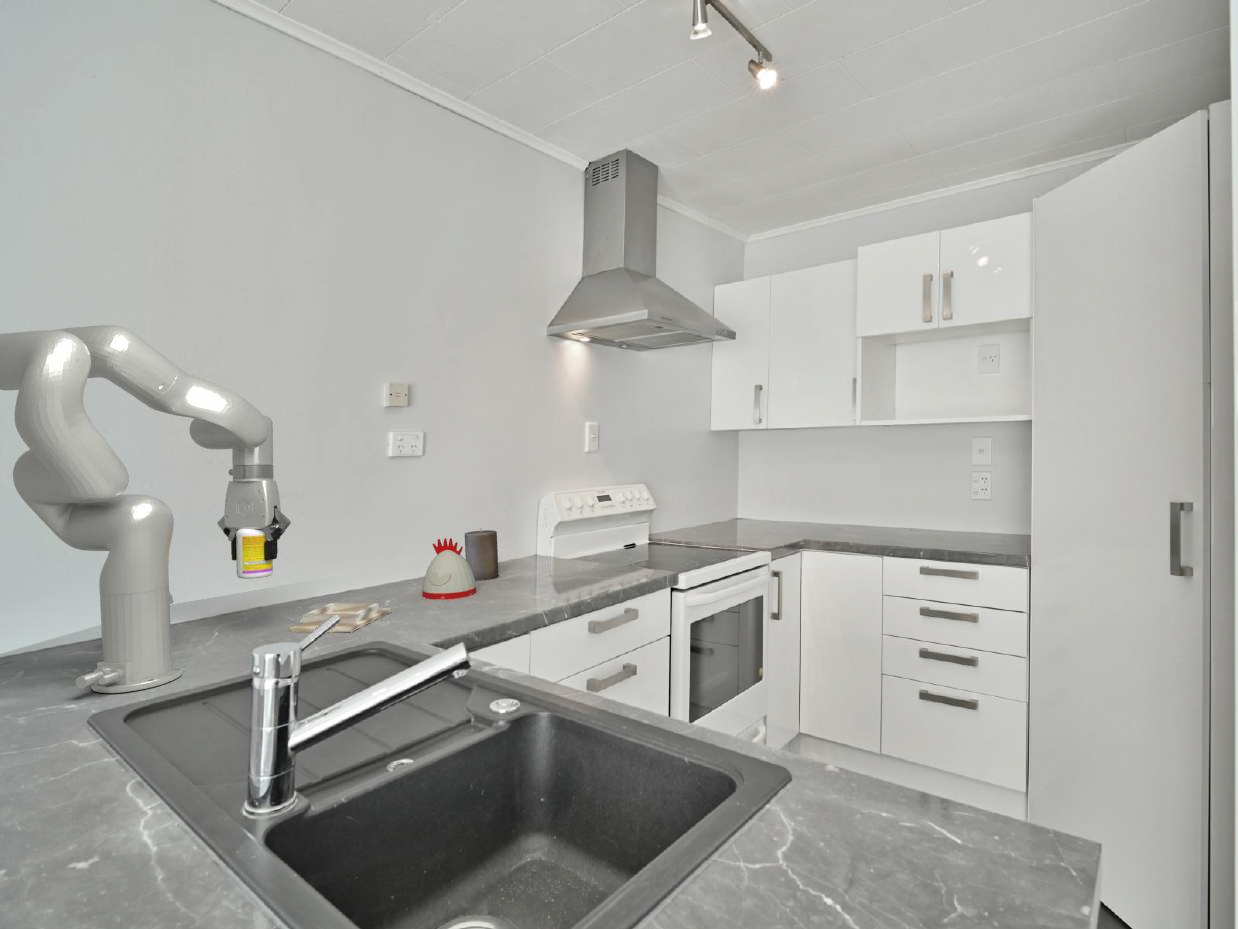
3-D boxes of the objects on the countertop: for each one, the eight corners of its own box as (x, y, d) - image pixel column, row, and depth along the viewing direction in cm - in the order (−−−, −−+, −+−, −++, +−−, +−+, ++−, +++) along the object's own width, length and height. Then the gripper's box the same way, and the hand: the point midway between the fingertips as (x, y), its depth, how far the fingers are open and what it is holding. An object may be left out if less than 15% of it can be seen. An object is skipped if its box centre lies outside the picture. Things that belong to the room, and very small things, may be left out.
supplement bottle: (279, 575, 141) (278, 514, 141) (247, 580, 136) (246, 516, 136) (261, 573, 145) (260, 514, 145) (230, 578, 139) (229, 516, 139)
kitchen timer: (435, 588, 187) (434, 535, 187) (483, 588, 185) (481, 534, 185) (413, 599, 174) (412, 541, 173) (464, 600, 172) (463, 541, 171)
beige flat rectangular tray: (351, 633, 142) (350, 618, 142) (290, 632, 144) (289, 618, 144) (391, 612, 160) (391, 599, 159) (336, 611, 161) (336, 599, 161)
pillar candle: (503, 574, 206) (501, 525, 206) (491, 580, 196) (489, 529, 196) (473, 574, 208) (471, 526, 208) (460, 580, 198) (458, 530, 198)
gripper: (202, 475, 138) (203, 562, 138) (280, 473, 136) (281, 562, 135) (228, 474, 145) (229, 557, 145) (302, 473, 143) (303, 557, 143)
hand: (254, 558), depth 140 cm, fingers closed on supplement bottle, 6 cm apart
